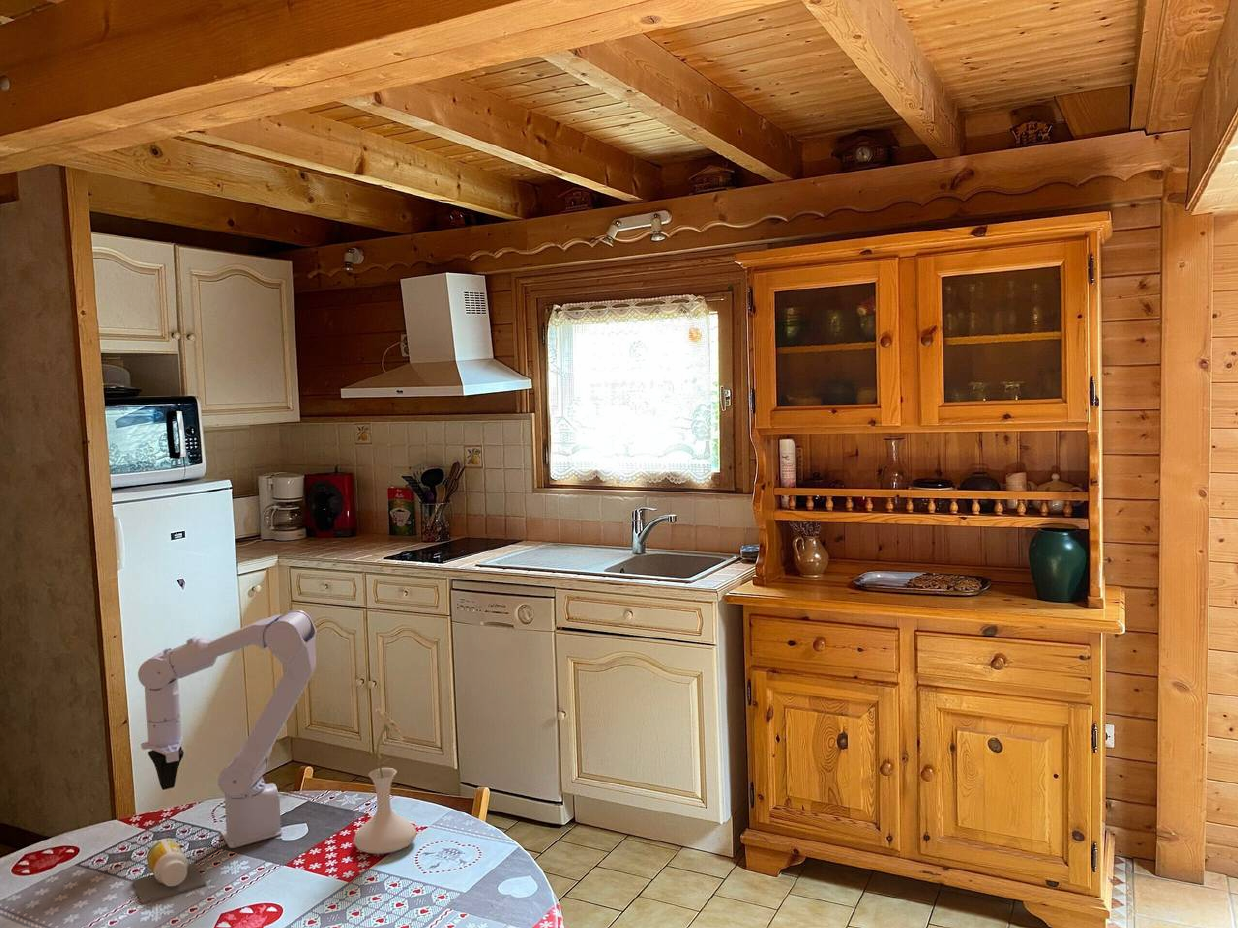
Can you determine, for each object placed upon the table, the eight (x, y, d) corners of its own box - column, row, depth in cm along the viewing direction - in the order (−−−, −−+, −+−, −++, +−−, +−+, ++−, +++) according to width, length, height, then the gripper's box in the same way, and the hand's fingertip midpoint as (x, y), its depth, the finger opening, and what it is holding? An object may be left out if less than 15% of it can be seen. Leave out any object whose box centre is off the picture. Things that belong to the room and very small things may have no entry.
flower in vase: (418, 855, 174) (413, 720, 172) (352, 864, 172) (346, 727, 170) (415, 823, 187) (410, 697, 185) (354, 831, 184) (348, 703, 182)
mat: (195, 864, 173) (194, 862, 172) (206, 885, 165) (206, 883, 165) (133, 881, 167) (133, 879, 167) (142, 904, 159) (141, 901, 159)
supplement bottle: (178, 834, 172) (191, 854, 164) (179, 863, 172) (192, 885, 165) (145, 842, 169) (157, 863, 161) (146, 871, 169) (157, 894, 162)
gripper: (133, 711, 185) (138, 780, 186) (146, 732, 173) (151, 806, 174) (173, 703, 189) (177, 771, 190) (189, 724, 177) (193, 796, 178)
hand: (167, 787), depth 182 cm, fingers closed
